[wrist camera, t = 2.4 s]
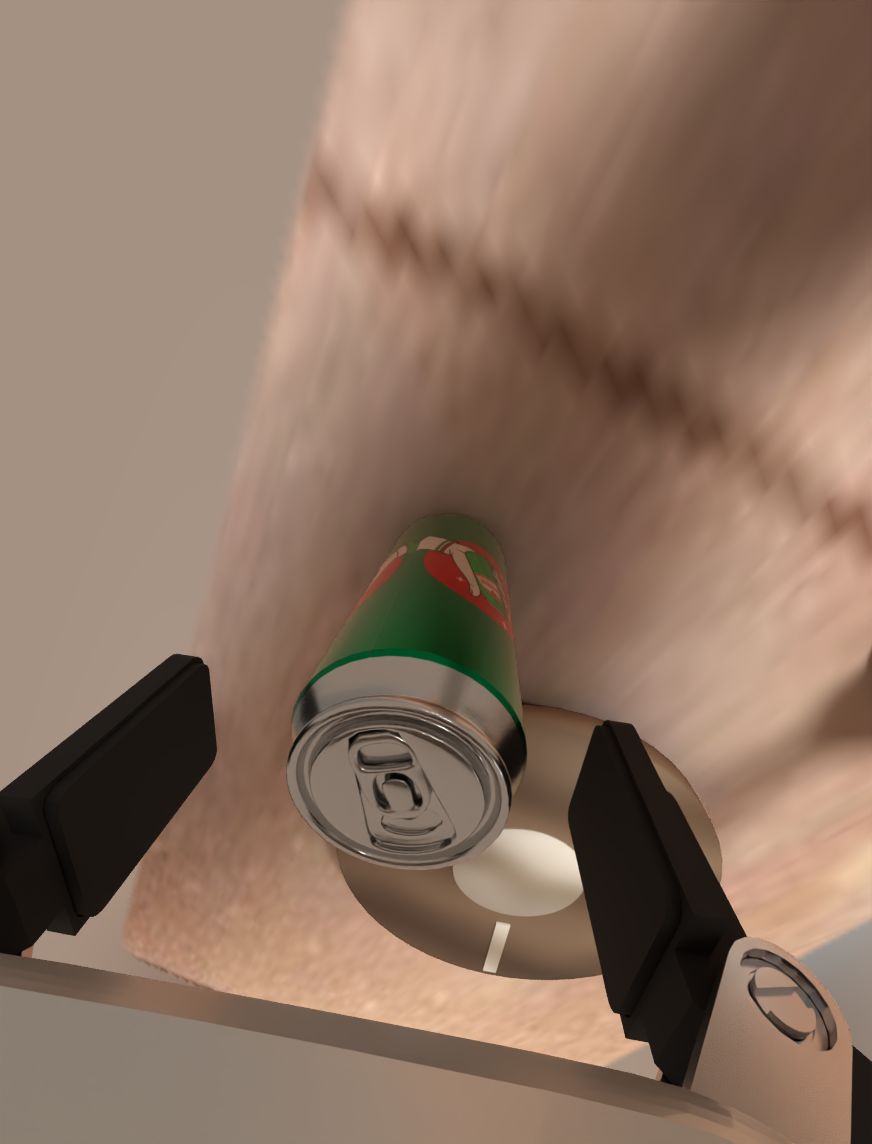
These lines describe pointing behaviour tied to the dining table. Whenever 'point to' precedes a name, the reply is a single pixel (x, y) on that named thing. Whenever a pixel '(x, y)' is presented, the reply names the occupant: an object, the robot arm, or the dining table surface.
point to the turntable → (517, 871)
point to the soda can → (416, 707)
